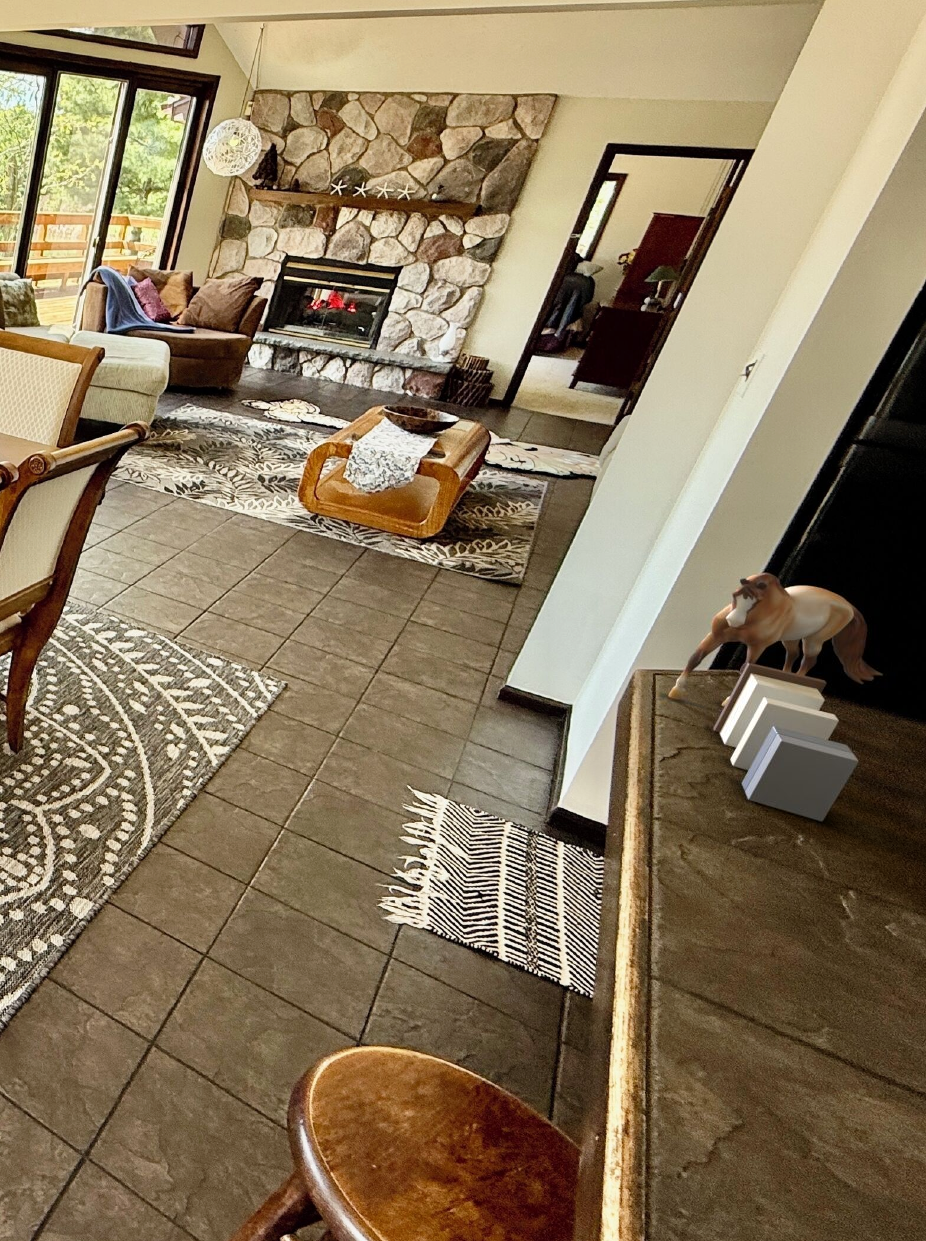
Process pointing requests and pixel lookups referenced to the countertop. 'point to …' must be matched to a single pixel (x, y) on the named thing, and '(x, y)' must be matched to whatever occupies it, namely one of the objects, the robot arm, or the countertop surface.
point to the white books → (769, 685)
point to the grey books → (799, 773)
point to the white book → (783, 718)
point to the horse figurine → (786, 627)
